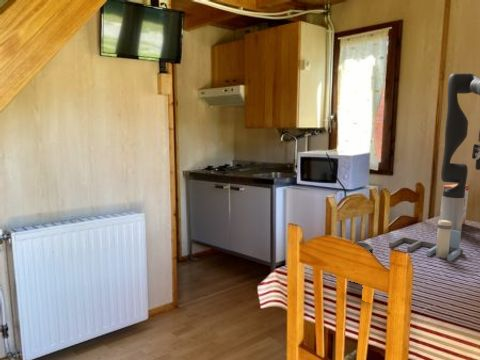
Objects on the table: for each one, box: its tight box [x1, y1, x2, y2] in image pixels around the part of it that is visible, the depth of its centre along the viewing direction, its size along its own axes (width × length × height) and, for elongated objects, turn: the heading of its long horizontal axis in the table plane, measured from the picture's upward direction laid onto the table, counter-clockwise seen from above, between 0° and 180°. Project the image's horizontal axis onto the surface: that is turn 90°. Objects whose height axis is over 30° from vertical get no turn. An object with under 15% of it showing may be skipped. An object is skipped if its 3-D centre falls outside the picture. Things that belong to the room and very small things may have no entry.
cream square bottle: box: [435, 220, 452, 259], centre depth 152 cm, size 5×5×14 cm
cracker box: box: [438, 183, 470, 225], centre depth 201 cm, size 14×6×21 cm, turn 117°
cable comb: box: [388, 230, 465, 262], centre depth 159 cm, size 13×25×9 cm, turn 45°
